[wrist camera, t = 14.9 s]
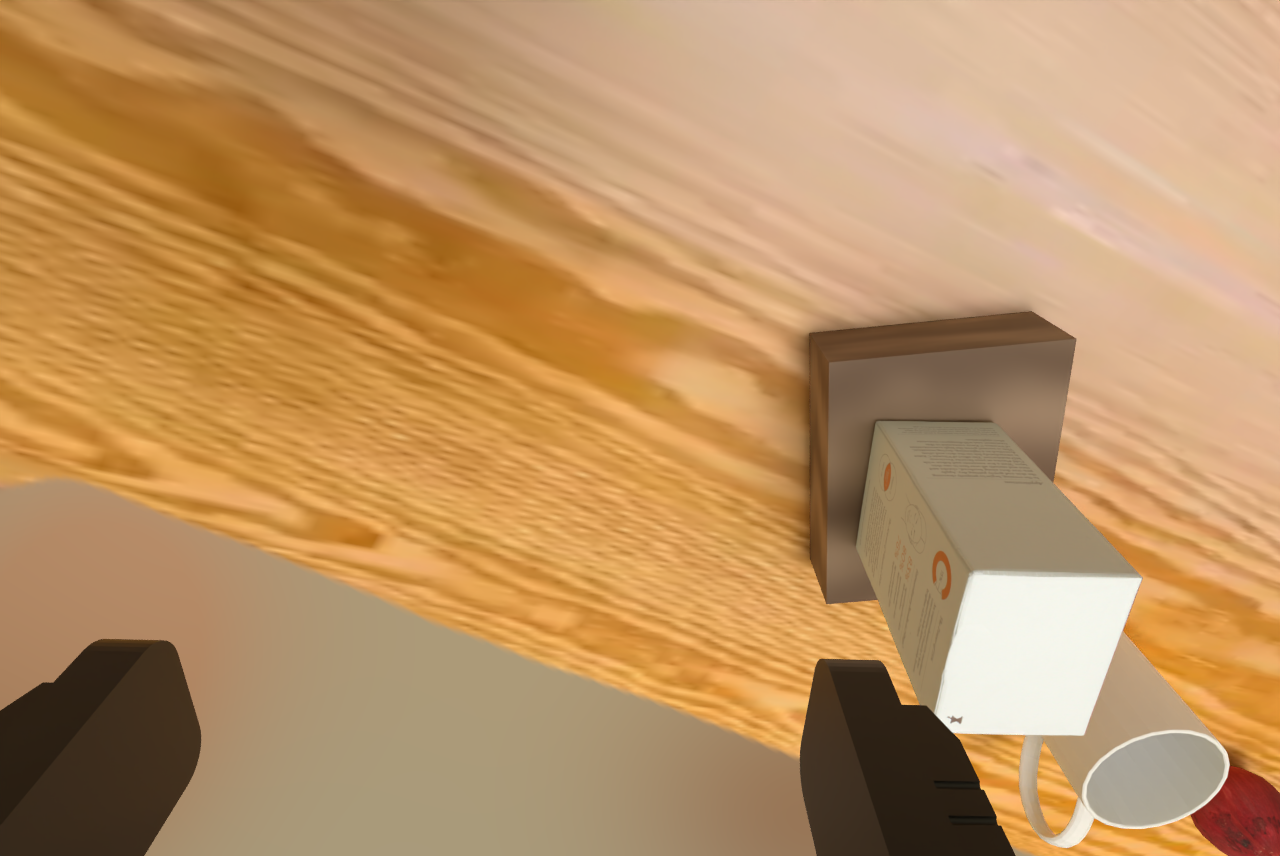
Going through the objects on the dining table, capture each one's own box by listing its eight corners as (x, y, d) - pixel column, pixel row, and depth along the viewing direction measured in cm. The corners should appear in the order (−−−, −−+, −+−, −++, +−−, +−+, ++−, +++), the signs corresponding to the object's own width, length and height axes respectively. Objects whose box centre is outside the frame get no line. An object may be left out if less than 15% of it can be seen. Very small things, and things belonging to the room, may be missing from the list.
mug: (1050, 586, 49) (1150, 712, 39) (1143, 627, 50) (1262, 758, 41) (939, 711, 53) (1005, 850, 44) (1027, 745, 55) (1110, 887, 45)
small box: (967, 550, 42) (1087, 741, 30) (853, 547, 42) (926, 737, 30) (1000, 418, 38) (1149, 577, 26) (874, 416, 38) (967, 573, 26)
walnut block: (807, 330, 41) (829, 362, 37) (1027, 308, 41) (1076, 338, 37) (808, 553, 48) (826, 604, 43) (998, 537, 48) (1036, 586, 43)
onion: (1146, 782, 57) (1220, 886, 49) (1198, 731, 54) (1284, 832, 47) (1206, 802, 58) (1288, 907, 50) (1260, 753, 55) (1354, 856, 48)
